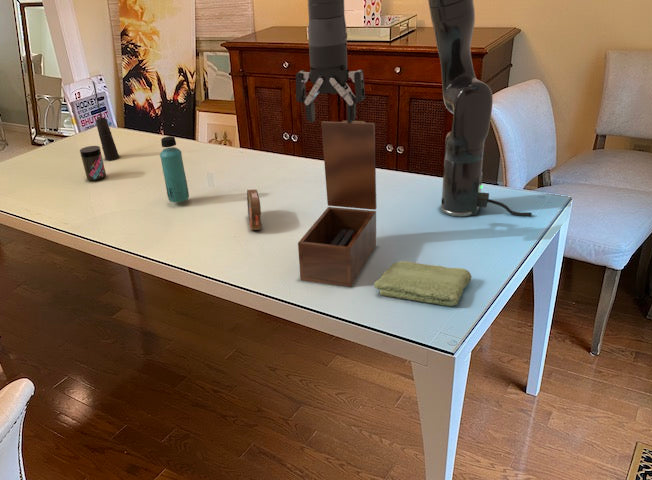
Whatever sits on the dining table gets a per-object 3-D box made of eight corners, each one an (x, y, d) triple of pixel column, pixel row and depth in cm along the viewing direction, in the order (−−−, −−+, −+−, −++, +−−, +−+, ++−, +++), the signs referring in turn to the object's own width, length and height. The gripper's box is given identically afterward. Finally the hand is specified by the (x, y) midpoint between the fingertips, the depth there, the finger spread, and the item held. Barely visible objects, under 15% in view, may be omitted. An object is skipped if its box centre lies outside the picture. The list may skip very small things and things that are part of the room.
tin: (247, 213, 175) (244, 185, 170) (258, 211, 175) (255, 183, 170) (252, 236, 162) (248, 206, 158) (264, 234, 162) (261, 204, 158)
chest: (351, 287, 135) (350, 248, 130) (300, 280, 140) (297, 242, 135) (376, 246, 150) (376, 210, 145) (329, 241, 155) (328, 206, 150)
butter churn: (97, 156, 234) (79, 79, 220) (122, 151, 236) (106, 75, 221) (98, 163, 227) (79, 84, 212) (124, 159, 228) (107, 80, 214)
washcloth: (393, 267, 141) (393, 254, 139) (472, 280, 132) (474, 267, 131) (371, 295, 131) (371, 282, 130) (456, 312, 123) (457, 298, 121)
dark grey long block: (342, 245, 150) (341, 228, 148) (355, 246, 149) (354, 229, 147) (320, 275, 139) (319, 256, 137) (334, 276, 138) (334, 258, 135)
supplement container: (86, 183, 209) (79, 153, 204) (87, 177, 215) (79, 147, 210) (106, 180, 210) (99, 150, 205) (106, 173, 216) (100, 144, 210)
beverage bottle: (194, 199, 187) (183, 134, 177) (183, 208, 182) (171, 141, 172) (175, 198, 190) (164, 133, 180) (164, 206, 185) (151, 140, 175)
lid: (373, 124, 132) (380, 114, 136) (321, 122, 137) (329, 113, 141) (375, 209, 145) (381, 199, 148) (327, 205, 149) (334, 195, 153)
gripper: (287, 45, 124) (293, 126, 132) (357, 43, 118) (358, 128, 127) (300, 38, 129) (305, 116, 138) (367, 35, 124) (368, 117, 132)
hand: (331, 121), depth 132 cm, fingers open, 8 cm apart
